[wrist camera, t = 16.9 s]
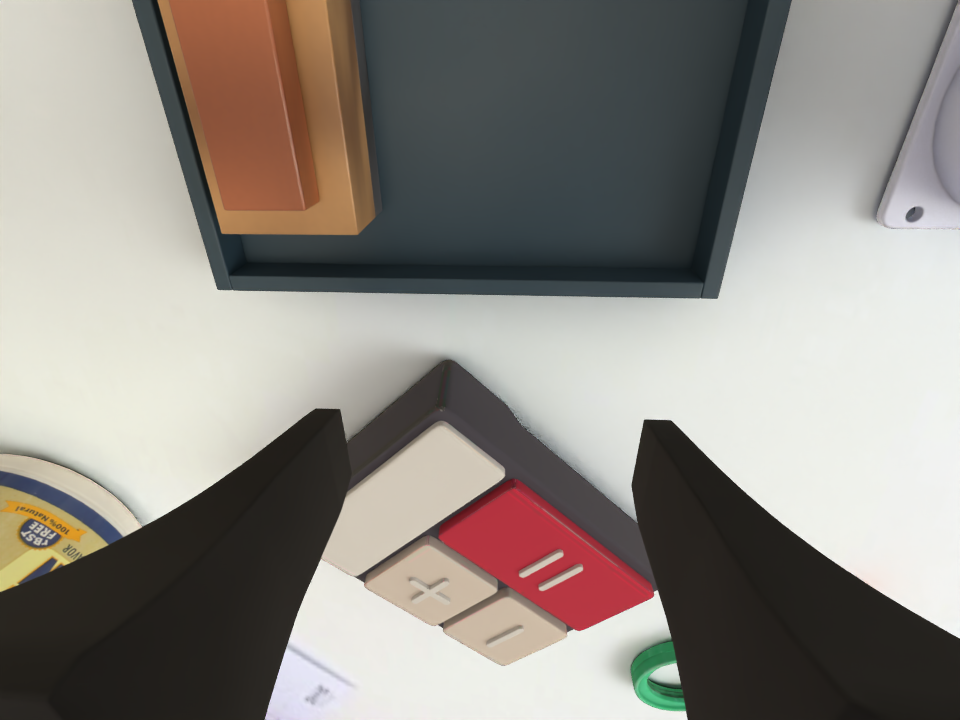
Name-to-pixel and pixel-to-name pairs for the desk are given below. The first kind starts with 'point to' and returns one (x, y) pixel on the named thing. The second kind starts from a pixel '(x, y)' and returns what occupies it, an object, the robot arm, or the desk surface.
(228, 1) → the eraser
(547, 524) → the calculator
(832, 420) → the desk surface
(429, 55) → the tray
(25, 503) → the supplement tub
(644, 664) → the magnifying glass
